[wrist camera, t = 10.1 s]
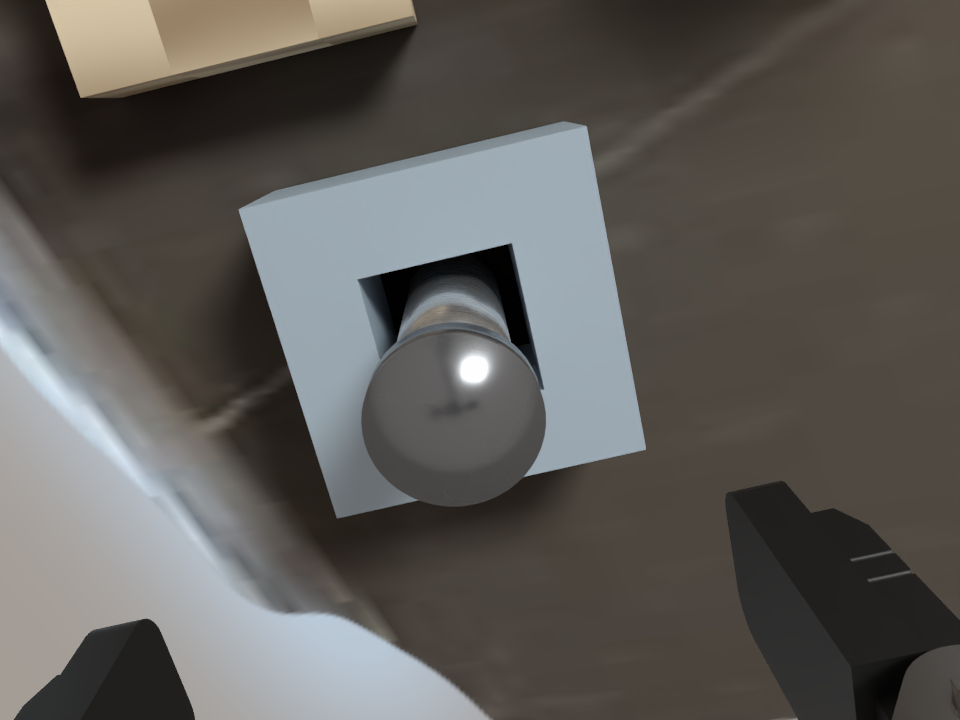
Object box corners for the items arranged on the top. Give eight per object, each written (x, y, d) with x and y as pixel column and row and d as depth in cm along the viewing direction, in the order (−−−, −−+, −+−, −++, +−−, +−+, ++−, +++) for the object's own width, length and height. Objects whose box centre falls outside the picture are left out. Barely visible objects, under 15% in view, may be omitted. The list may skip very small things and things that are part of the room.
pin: (384, 255, 29) (339, 358, 17) (496, 229, 29) (524, 315, 17) (413, 361, 30) (388, 523, 19) (520, 336, 30) (562, 484, 18)
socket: (275, 190, 28) (238, 209, 23) (563, 121, 28) (586, 126, 23) (355, 454, 31) (337, 518, 26) (616, 394, 31) (645, 449, 26)
